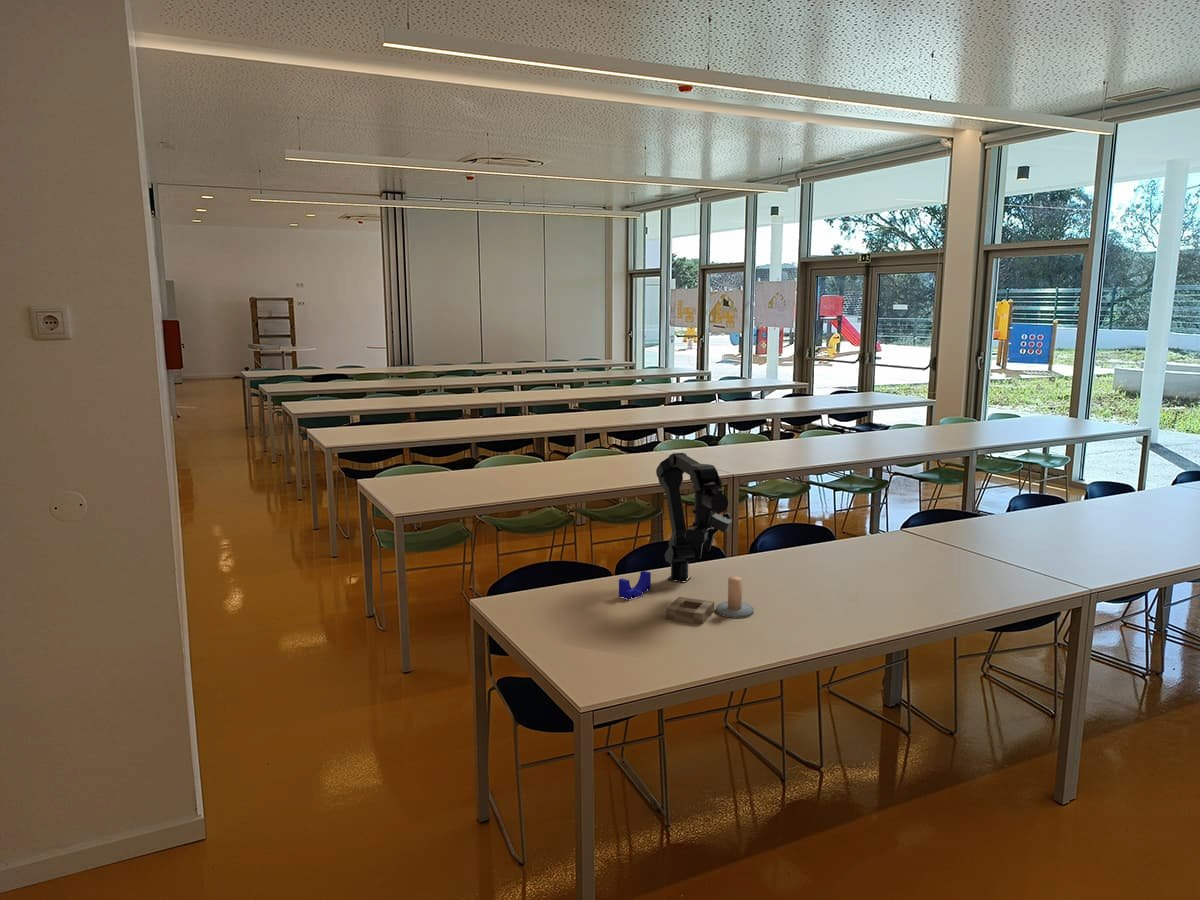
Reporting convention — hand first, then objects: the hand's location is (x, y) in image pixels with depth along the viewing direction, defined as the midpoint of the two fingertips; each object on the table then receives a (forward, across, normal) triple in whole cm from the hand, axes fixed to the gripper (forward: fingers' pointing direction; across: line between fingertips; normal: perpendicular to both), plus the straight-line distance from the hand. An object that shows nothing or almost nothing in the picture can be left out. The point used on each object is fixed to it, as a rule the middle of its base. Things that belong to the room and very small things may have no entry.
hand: (703, 554), depth 253 cm
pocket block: (+13, -18, -2) cm, 22 cm away
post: (+12, -10, -13) cm, 20 cm away
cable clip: (+13, -8, +19) cm, 25 cm away
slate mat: (+13, -10, -13) cm, 21 cm away
